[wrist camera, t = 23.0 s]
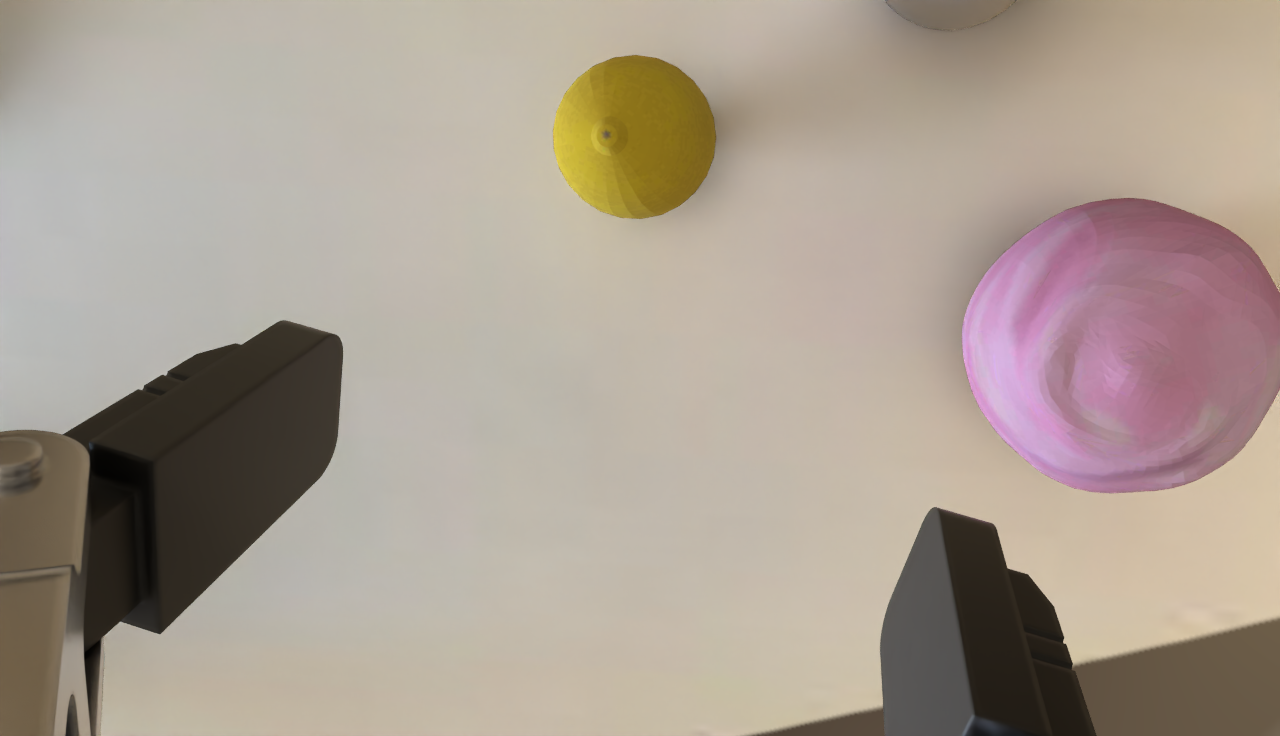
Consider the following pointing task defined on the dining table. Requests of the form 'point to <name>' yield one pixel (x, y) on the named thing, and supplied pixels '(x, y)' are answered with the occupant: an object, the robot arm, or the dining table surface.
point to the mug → (949, 12)
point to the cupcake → (1125, 346)
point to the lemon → (634, 137)
